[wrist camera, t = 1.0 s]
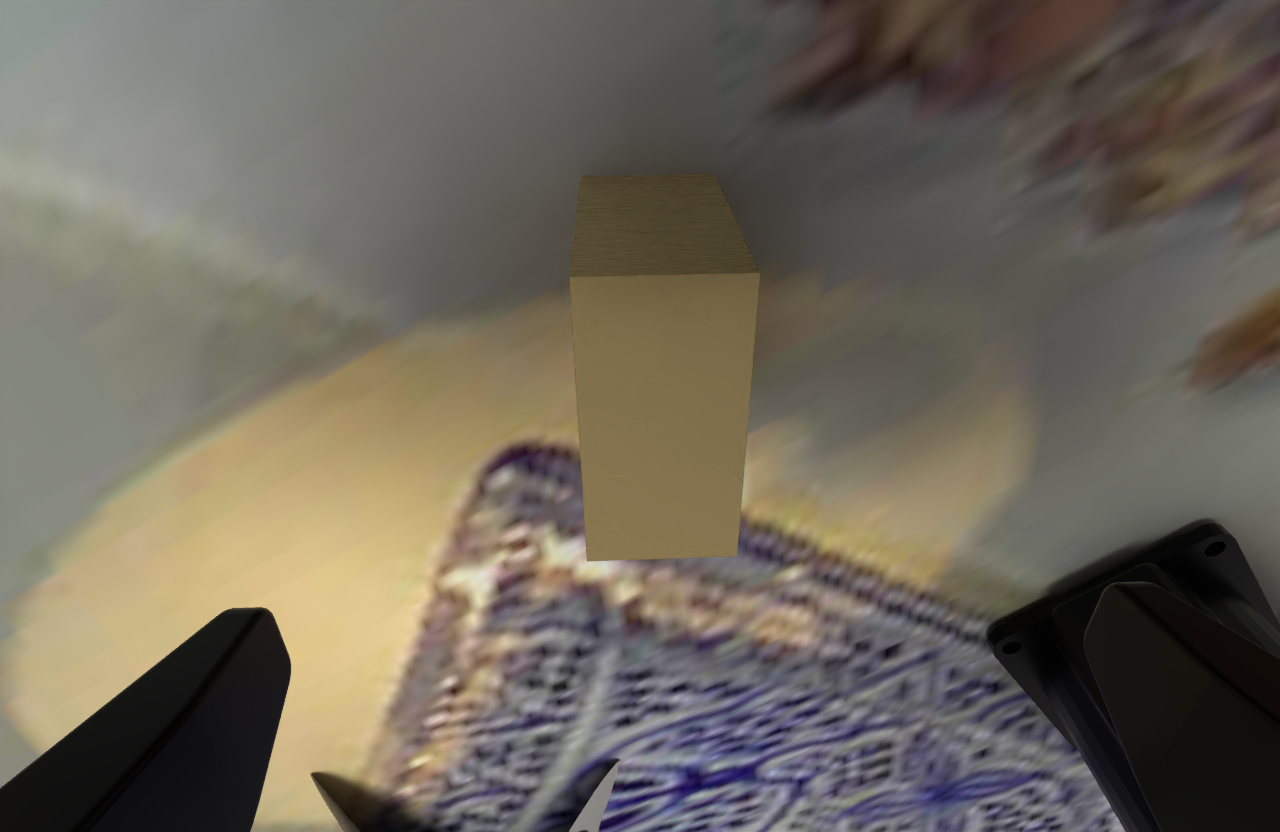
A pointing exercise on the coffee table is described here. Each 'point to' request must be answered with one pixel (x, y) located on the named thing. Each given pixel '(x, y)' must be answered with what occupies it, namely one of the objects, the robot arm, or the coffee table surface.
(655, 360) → the wooden plank piece
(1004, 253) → the coffee table surface
